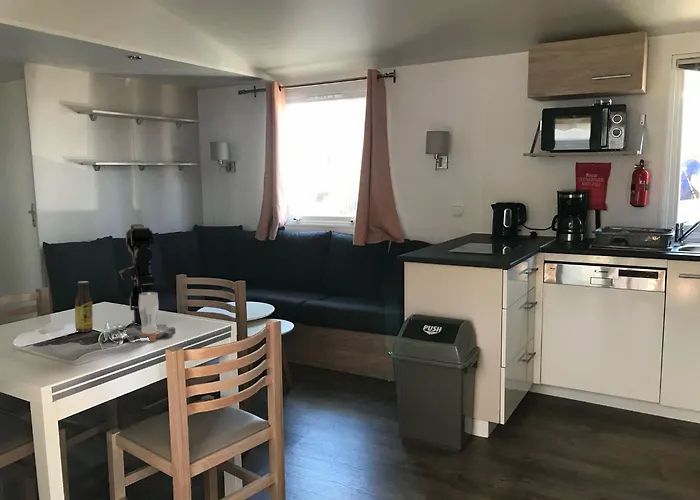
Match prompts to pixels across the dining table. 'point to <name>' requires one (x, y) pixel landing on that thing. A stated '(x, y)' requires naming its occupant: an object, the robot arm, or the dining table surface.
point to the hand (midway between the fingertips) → (143, 298)
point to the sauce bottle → (83, 308)
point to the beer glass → (148, 312)
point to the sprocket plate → (162, 333)
